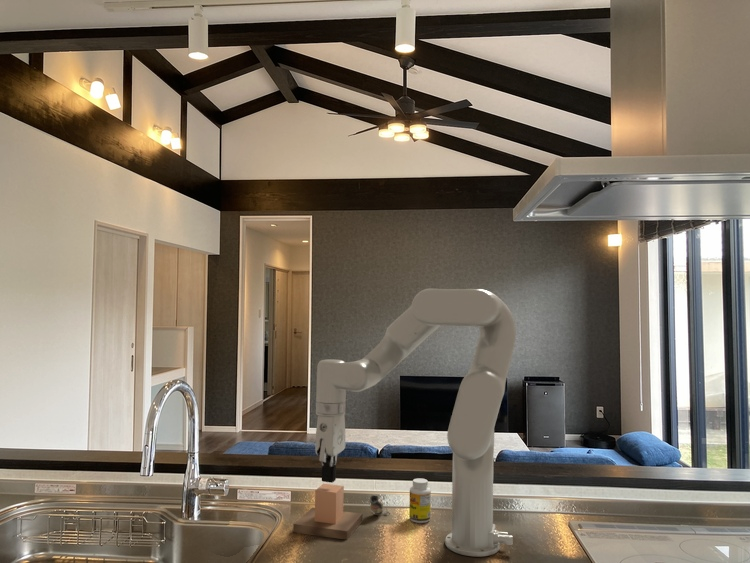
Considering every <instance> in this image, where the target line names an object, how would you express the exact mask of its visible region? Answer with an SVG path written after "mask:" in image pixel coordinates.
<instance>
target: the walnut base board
mask: <svg viewBox="0 0 750 563" xmlns="http://www.w3.org/2000/svg"><path fill="white" fill-rule="evenodd" d="M362 523H363V513H358V512H352V511H344V510H343V517H342V518H341V519H340V520H339V521H338V522H337V523H336V524H332V523H324V522H316V521H315V507H312V508H311V507H310V509H309V510H308V511H306V512H305V514H303V515H302V516H301V517H300V518H298V520H296V521H295V522H294V523H293V525H292V527H293V529H292V530H293V532H292V533H296V534H304V535H312V536H317V537H324V538H333V539H338V540H348V539H349V538H350V537H351V536H352V534H354V533H355V531H356V530H357V528H358V527H359V526H360V525H361V524H362Z"/></svg>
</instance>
